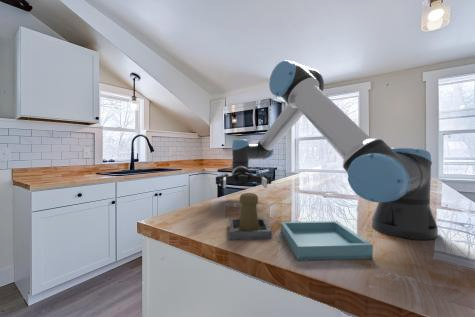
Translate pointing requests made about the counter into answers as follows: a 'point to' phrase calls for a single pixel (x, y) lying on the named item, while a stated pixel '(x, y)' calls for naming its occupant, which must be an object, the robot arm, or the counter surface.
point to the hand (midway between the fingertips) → (245, 183)
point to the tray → (324, 241)
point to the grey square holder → (250, 231)
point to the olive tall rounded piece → (248, 212)
